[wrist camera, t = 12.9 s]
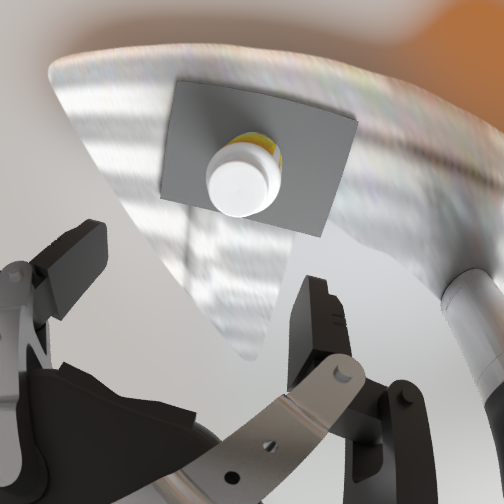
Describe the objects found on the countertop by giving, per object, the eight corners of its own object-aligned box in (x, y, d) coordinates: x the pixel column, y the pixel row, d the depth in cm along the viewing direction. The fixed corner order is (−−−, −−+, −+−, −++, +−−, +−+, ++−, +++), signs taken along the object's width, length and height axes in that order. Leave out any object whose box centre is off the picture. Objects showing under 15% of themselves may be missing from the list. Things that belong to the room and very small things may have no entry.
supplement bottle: (216, 145, 27) (181, 169, 18) (268, 122, 25) (258, 133, 16) (240, 193, 29) (218, 239, 20) (291, 173, 28) (293, 212, 19)
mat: (356, 121, 25) (358, 121, 24) (319, 234, 31) (320, 237, 31) (179, 81, 24) (177, 80, 24) (163, 196, 31) (160, 198, 30)
